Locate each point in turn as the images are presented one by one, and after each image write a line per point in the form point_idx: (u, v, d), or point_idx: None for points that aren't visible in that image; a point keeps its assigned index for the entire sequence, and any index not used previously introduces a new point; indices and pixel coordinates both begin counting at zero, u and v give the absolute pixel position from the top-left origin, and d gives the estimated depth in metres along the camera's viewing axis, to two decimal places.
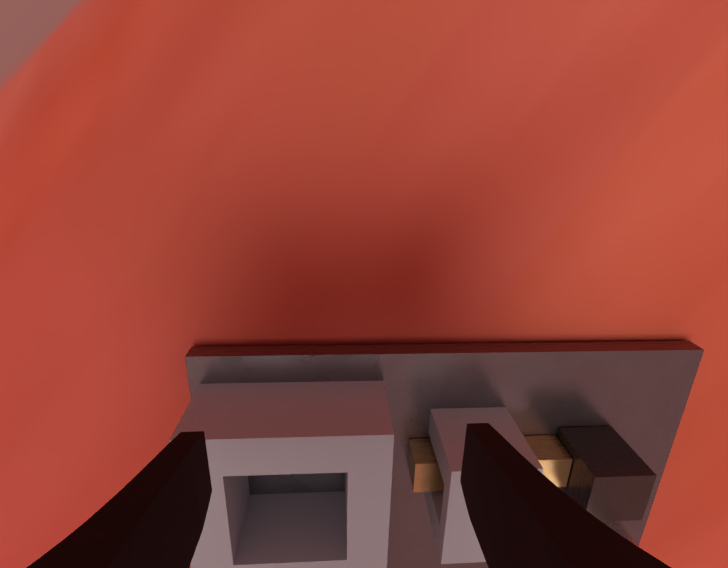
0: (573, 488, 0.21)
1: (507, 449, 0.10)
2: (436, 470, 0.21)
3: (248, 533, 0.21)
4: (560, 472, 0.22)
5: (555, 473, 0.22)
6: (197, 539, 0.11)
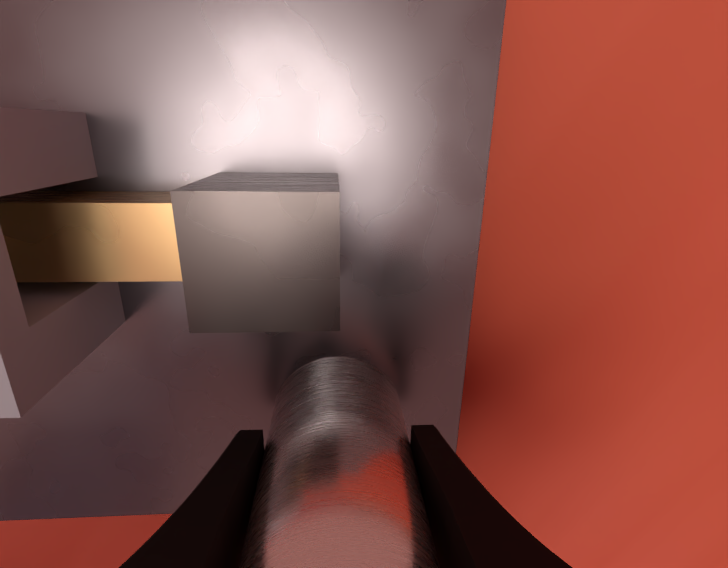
0: None
1: (444, 451, 0.10)
2: None
3: None
4: None
5: (170, 242, 0.10)
6: None
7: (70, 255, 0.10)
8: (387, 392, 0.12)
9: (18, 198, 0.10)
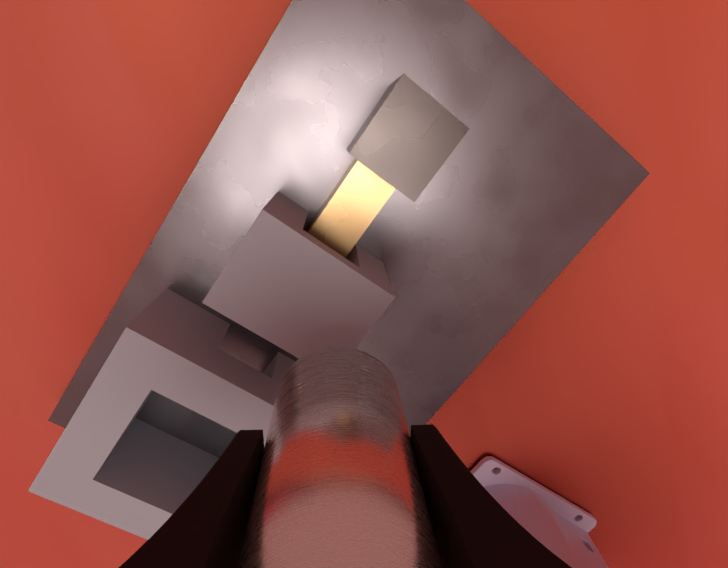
0: None
1: (444, 451, 0.10)
2: None
3: None
4: (367, 184, 0.16)
5: (365, 190, 0.16)
6: None
7: (338, 240, 0.17)
8: (385, 380, 0.13)
9: None
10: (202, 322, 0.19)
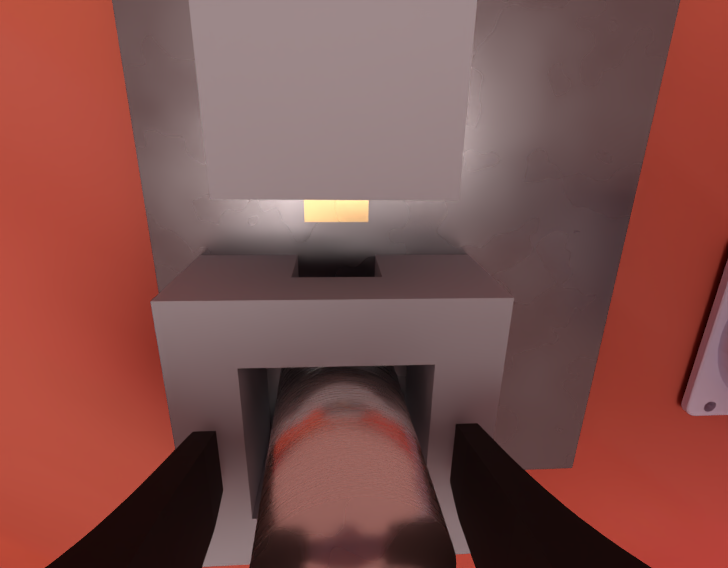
0: None
1: (494, 450, 0.10)
2: None
3: None
4: None
5: None
6: (209, 538, 0.11)
7: None
8: None
9: None
10: (259, 265, 0.13)
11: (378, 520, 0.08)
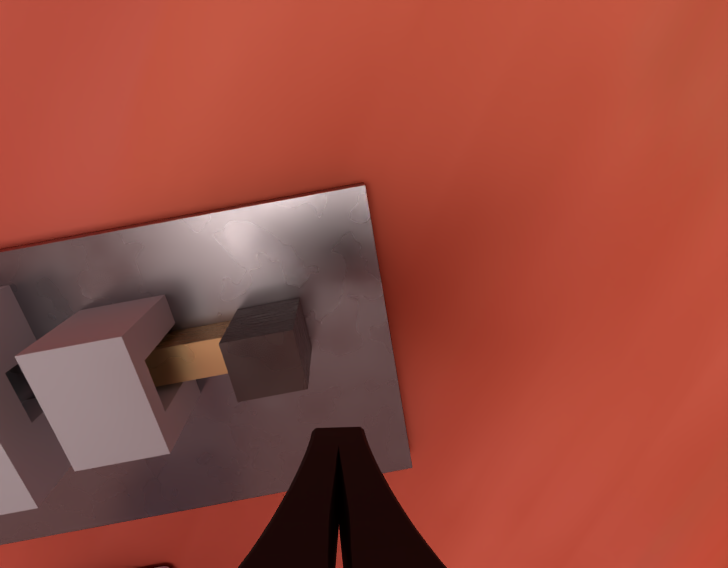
0: None
1: (361, 454, 0.10)
2: None
3: None
4: None
5: (219, 356, 0.19)
6: (337, 533, 0.11)
7: (173, 370, 0.19)
8: None
9: None
10: (13, 338, 0.19)
11: None
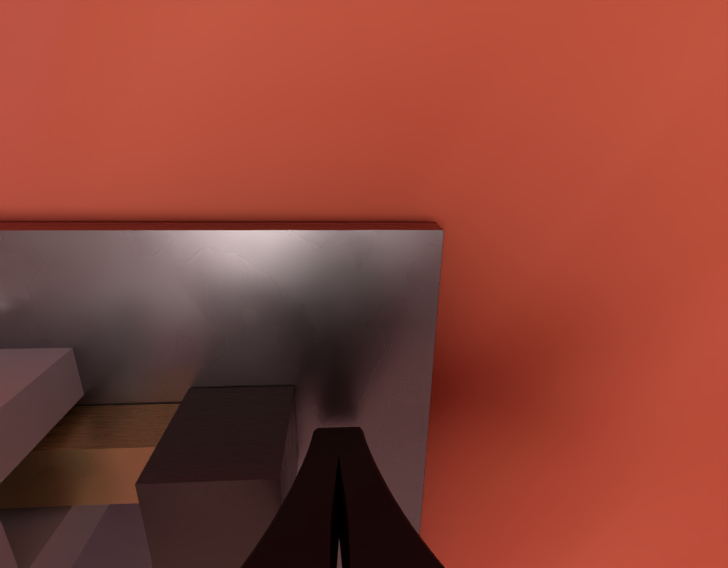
0: None
1: (360, 454, 0.10)
2: None
3: None
4: None
5: None
6: (339, 533, 0.11)
7: (54, 487, 0.11)
8: None
9: None
10: None
11: None
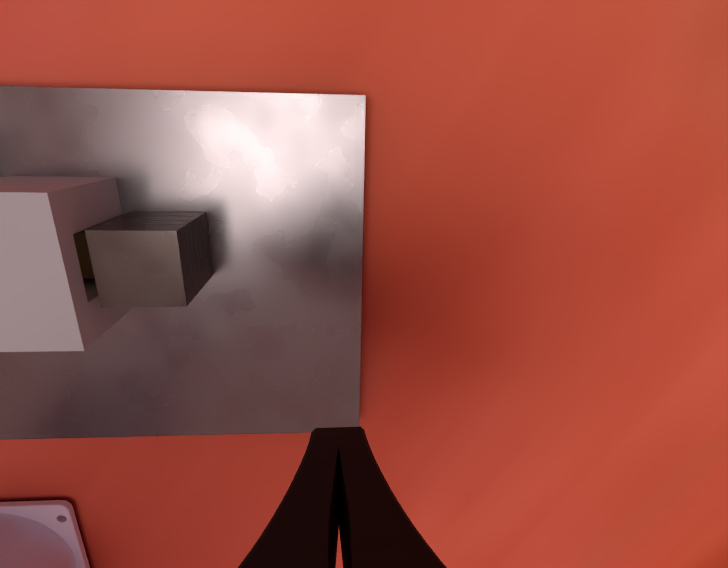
0: None
1: (361, 454, 0.10)
2: None
3: None
4: None
5: None
6: (337, 533, 0.11)
7: None
8: None
9: None
10: None
11: None
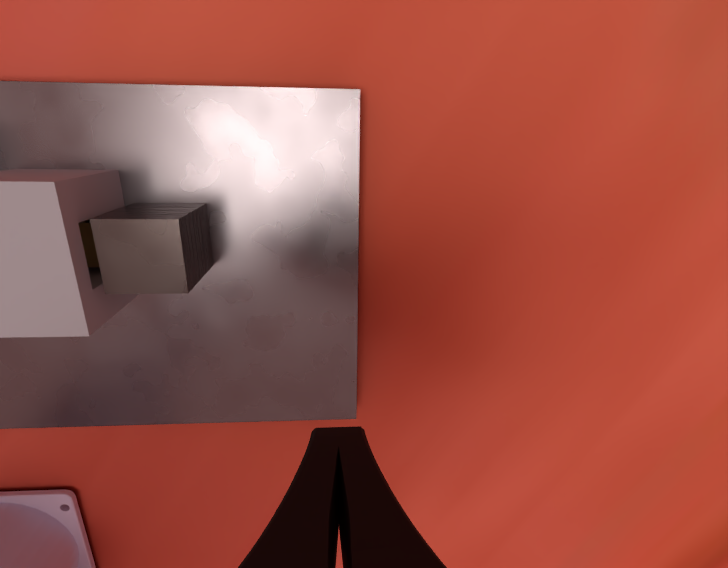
0: None
1: (361, 454, 0.10)
2: None
3: None
4: None
5: None
6: (337, 533, 0.11)
7: None
8: None
9: None
10: None
11: None
